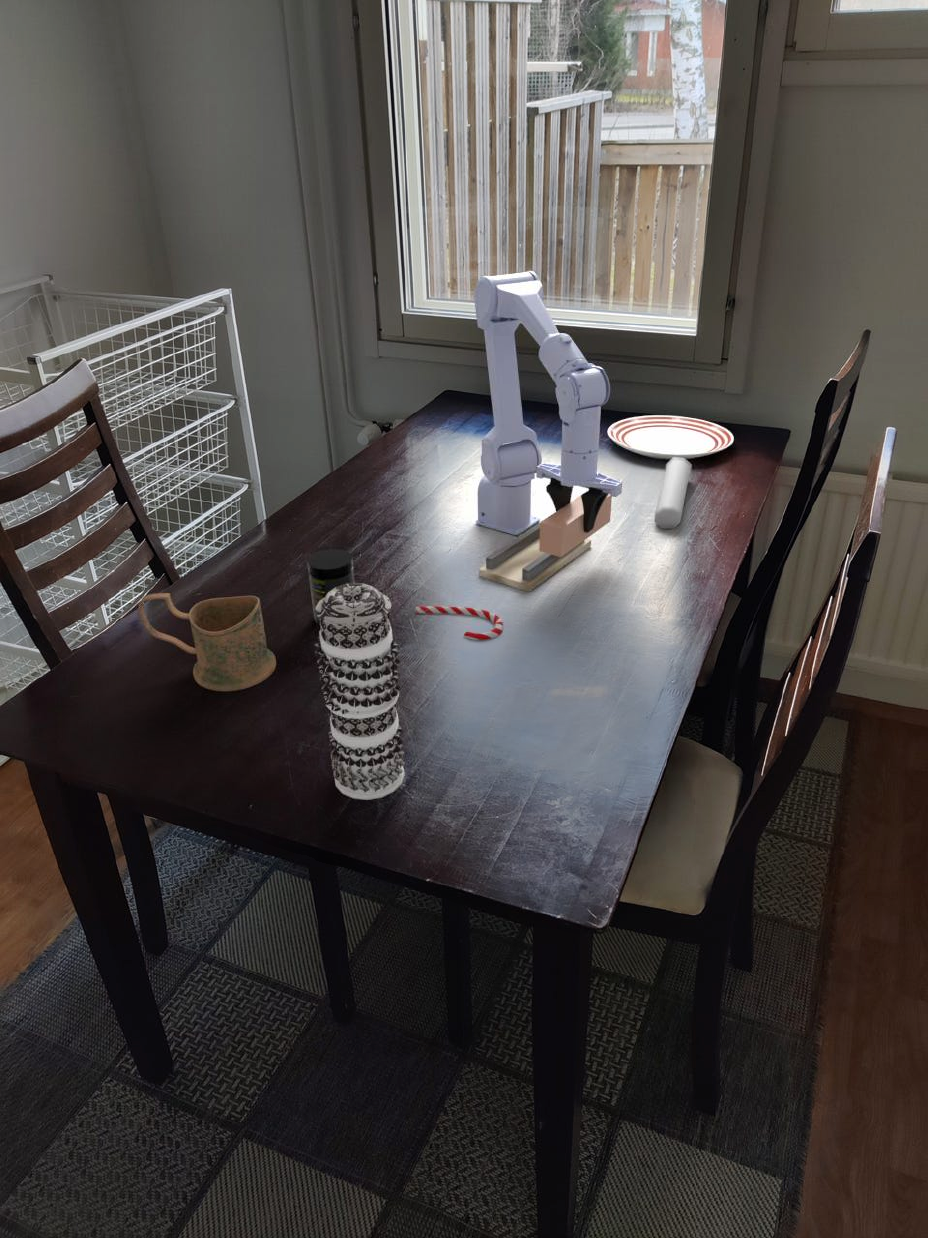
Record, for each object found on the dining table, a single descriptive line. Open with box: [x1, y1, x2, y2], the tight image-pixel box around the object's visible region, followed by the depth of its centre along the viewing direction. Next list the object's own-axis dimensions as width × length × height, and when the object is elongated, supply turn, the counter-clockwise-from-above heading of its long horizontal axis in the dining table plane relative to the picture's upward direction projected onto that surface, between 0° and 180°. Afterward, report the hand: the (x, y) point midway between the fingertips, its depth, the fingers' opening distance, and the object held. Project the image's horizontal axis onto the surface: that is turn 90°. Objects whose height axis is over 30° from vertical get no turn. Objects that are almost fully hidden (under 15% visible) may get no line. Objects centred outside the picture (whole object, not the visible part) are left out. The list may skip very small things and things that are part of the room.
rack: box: [478, 522, 592, 592], centre depth 157 cm, size 10×20×3 cm, turn 143°
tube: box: [653, 457, 693, 529], centre depth 176 cm, size 5×5×25 cm
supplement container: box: [306, 548, 355, 626], centre depth 140 cm, size 7×7×10 cm
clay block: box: [539, 489, 613, 557], centre depth 149 cm, size 4×16×5 cm, turn 144°
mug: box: [138, 592, 277, 692], centre depth 128 cm, size 12×18×12 cm, turn 88°
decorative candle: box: [314, 582, 406, 801], centre depth 104 cm, size 9×9×25 cm
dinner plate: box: [607, 414, 735, 461], centre depth 204 cm, size 28×27×3 cm
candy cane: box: [414, 605, 504, 641], centre depth 141 cm, size 8×1×15 cm
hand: (576, 526), depth 150 cm, fingers closed on clay block, 4 cm apart
